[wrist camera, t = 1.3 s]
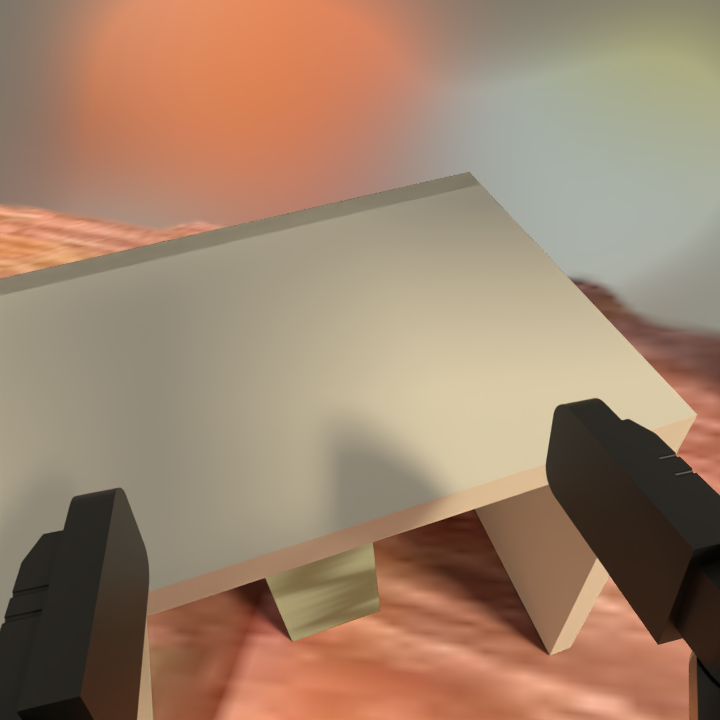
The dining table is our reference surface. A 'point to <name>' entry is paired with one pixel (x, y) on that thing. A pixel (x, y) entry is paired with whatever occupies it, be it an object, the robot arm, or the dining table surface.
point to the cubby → (314, 395)
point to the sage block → (327, 592)
